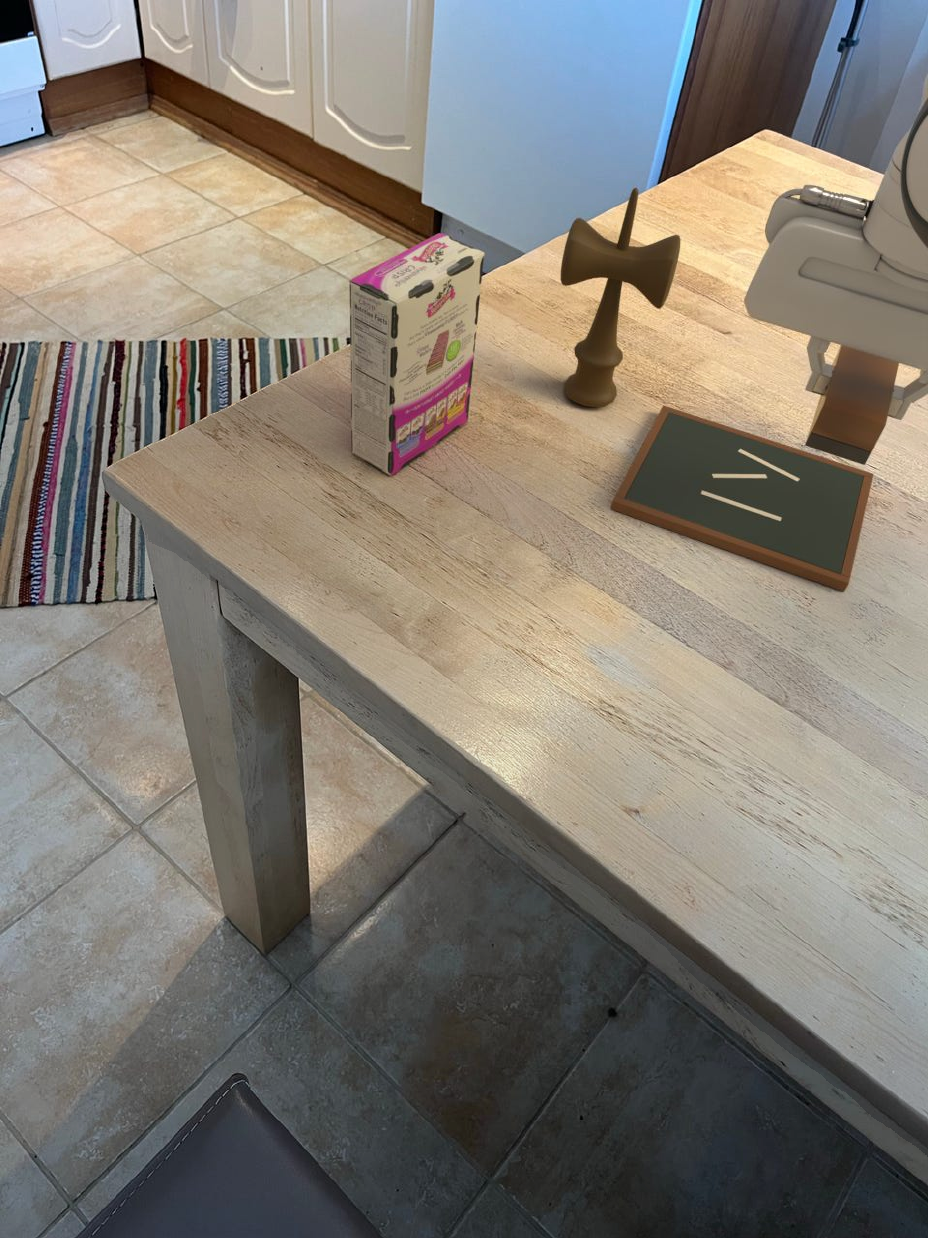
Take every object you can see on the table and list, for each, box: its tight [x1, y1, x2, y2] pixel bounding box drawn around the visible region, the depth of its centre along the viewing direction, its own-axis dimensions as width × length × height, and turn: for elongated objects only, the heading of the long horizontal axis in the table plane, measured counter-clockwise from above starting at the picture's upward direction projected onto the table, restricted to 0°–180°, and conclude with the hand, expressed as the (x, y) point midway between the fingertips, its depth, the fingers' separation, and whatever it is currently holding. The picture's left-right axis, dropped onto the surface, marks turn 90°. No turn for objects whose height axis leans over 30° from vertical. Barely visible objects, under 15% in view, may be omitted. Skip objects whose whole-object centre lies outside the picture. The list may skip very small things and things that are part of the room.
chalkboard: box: [610, 405, 874, 592], centre depth 83 cm, size 20×16×1 cm
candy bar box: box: [348, 232, 485, 477], centre depth 78 cm, size 11×5×16 cm, turn 143°
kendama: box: [560, 187, 682, 408], centre depth 84 cm, size 6×10×20 cm, turn 76°
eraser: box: [804, 345, 900, 466], centre depth 71 cm, size 4×10×4 cm, turn 156°
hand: (853, 401), depth 71 cm, fingers closed on eraser, 4 cm apart
